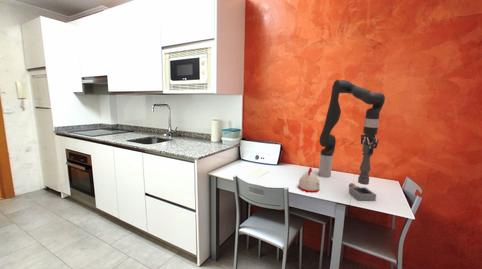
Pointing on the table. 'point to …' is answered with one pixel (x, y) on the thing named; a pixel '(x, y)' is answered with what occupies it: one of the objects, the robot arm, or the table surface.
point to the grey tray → (361, 193)
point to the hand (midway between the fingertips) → (367, 152)
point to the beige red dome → (309, 182)
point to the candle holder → (365, 166)
